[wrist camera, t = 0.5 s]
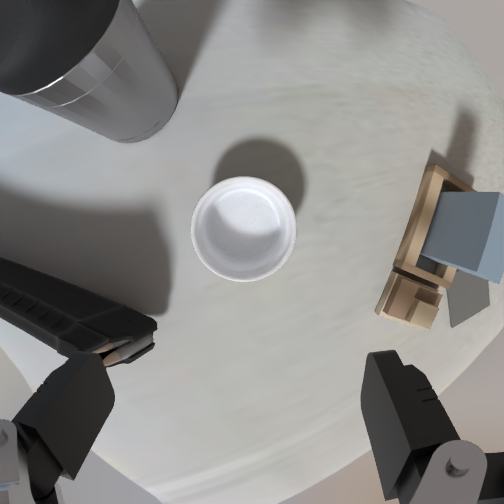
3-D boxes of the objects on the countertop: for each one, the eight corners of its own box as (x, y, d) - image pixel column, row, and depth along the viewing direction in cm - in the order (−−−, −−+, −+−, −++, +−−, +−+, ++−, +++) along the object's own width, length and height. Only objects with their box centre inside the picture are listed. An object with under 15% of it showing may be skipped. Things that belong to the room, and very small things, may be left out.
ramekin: (288, 179, 30) (296, 175, 26) (289, 270, 31) (297, 280, 27) (196, 180, 30) (188, 177, 25) (199, 272, 31) (192, 283, 27)
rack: (421, 327, 33) (436, 338, 29) (373, 311, 32) (386, 323, 29) (469, 193, 31) (488, 193, 27) (425, 165, 30) (444, 163, 27)
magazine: (-87, 271, 21) (40, 424, 14) (-87, 245, 20) (34, 386, 14) (5, 259, 37) (162, 345, 31) (7, 238, 37) (168, 316, 30)
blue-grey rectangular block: (435, 261, 32) (499, 284, 21) (413, 251, 32) (476, 272, 21) (454, 204, 31) (520, 209, 20) (432, 191, 31) (499, 192, 20)
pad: (444, 276, 32) (446, 276, 32) (483, 255, 32) (485, 255, 32) (450, 326, 33) (452, 327, 33) (487, 304, 33) (489, 305, 33)
